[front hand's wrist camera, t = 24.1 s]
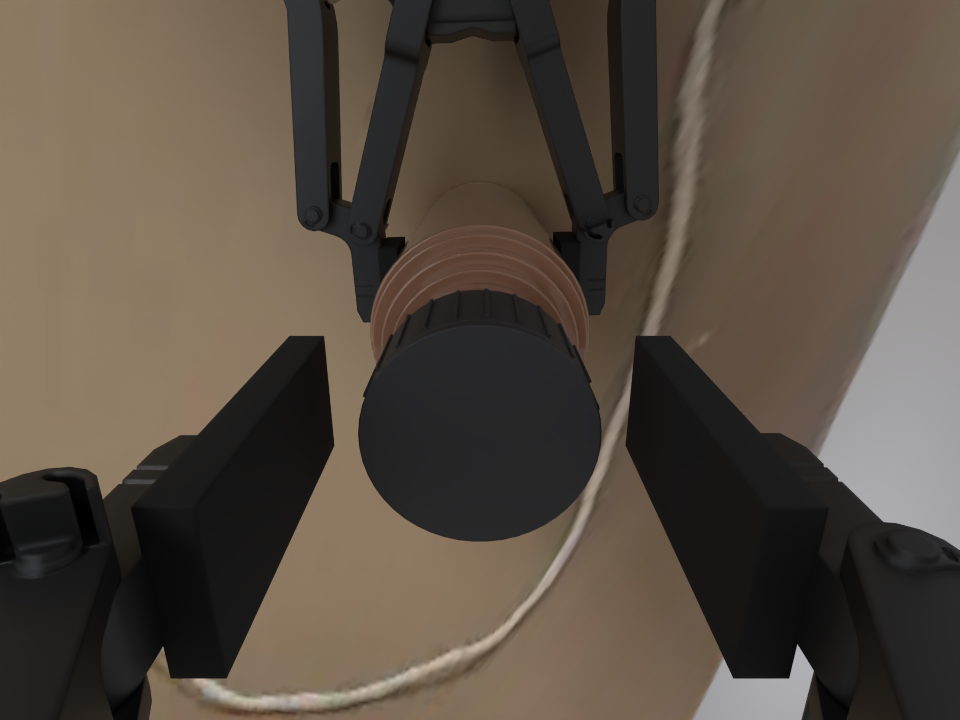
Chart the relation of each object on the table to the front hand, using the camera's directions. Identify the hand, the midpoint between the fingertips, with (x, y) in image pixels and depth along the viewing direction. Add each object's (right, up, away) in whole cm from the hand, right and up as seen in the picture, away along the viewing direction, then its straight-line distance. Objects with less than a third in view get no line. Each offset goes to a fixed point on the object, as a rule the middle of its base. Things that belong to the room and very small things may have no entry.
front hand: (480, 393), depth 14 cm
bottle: (0, +7, +18) cm, 19 cm away
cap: (0, 0, 0) cm, 0 cm away
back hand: (0, 0, +13) cm, 13 cm away
